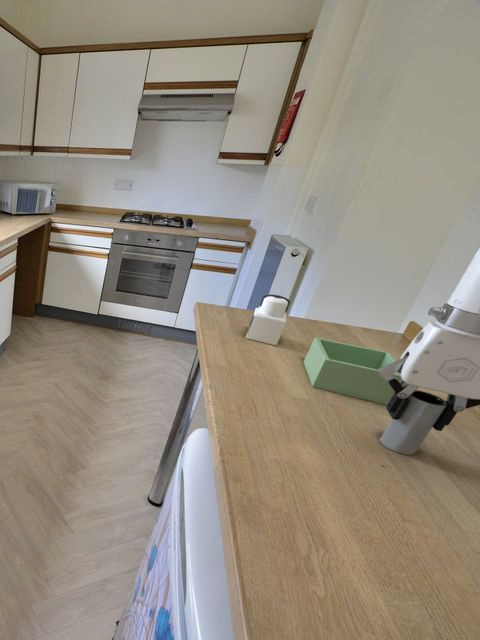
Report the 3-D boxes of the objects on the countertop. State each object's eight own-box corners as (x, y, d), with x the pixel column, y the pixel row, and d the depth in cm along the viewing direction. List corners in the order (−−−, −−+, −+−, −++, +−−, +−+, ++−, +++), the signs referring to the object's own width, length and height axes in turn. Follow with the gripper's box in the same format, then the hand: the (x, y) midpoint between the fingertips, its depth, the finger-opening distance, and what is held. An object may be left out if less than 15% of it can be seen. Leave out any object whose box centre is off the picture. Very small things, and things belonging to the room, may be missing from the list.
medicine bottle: (247, 330, 117) (262, 290, 112) (277, 337, 113) (293, 296, 108) (245, 338, 112) (260, 297, 107) (276, 346, 108) (294, 303, 103)
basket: (375, 378, 94) (389, 352, 91) (394, 406, 84) (411, 378, 81) (303, 362, 100) (314, 337, 97) (312, 386, 90) (325, 359, 87)
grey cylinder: (373, 441, 73) (403, 392, 68) (387, 436, 74) (417, 388, 70) (406, 458, 69) (439, 407, 64) (419, 451, 71) (453, 402, 66)
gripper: (409, 316, 62) (354, 415, 70) (578, 345, 55) (495, 452, 63) (393, 303, 68) (344, 395, 76) (544, 327, 61) (472, 426, 68)
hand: (413, 419), depth 69 cm, fingers closed on grey cylinder, 4 cm apart
